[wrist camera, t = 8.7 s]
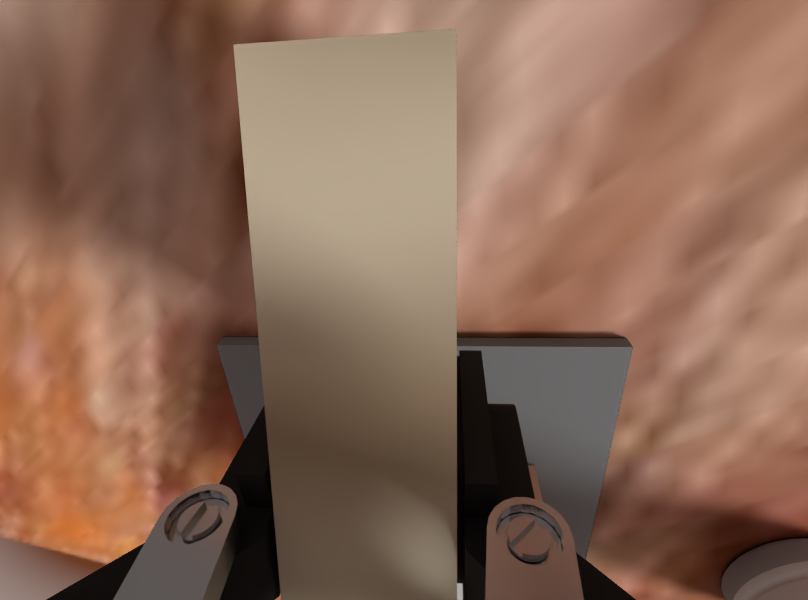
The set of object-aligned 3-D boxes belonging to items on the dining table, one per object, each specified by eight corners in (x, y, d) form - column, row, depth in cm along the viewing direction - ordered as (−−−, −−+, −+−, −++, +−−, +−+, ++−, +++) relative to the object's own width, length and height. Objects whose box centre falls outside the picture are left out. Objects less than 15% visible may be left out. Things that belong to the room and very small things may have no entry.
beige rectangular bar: (293, 127, 11) (164, 49, 6) (494, 117, 10) (536, 22, 5) (332, 732, 14) (271, 1003, 9) (485, 749, 14) (506, 1043, 9)
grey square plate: (223, 337, 18) (216, 344, 17) (626, 338, 16) (632, 347, 16) (290, 570, 25) (286, 580, 24) (573, 588, 23) (576, 599, 23)
